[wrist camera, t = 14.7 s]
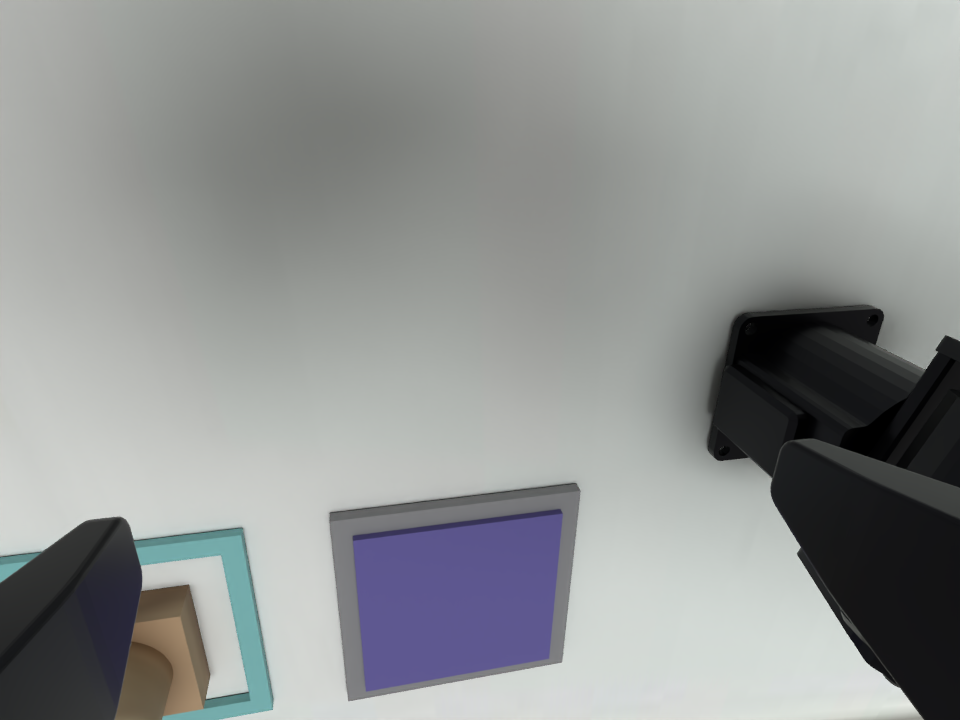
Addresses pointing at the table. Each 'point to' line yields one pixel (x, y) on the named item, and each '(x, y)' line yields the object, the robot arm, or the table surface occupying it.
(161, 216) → the table surface
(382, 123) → the table surface
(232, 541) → the teal flat square frame
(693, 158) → the table surface
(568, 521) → the ink pad
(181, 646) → the stamp
